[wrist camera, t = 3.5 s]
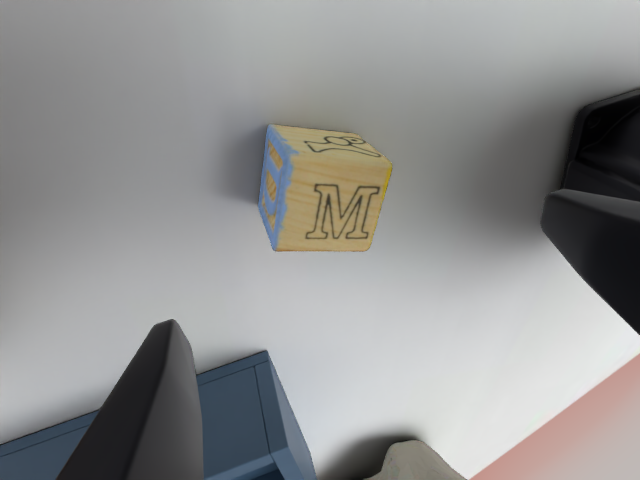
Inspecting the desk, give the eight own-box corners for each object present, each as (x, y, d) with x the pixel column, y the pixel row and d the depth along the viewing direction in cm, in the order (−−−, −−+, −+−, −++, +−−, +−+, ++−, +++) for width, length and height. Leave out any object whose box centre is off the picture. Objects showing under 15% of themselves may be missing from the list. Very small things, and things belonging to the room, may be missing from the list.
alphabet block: (267, 119, 12) (288, 154, 10) (358, 130, 13) (397, 164, 11) (256, 206, 14) (271, 255, 11) (338, 210, 15) (369, 256, 12)
